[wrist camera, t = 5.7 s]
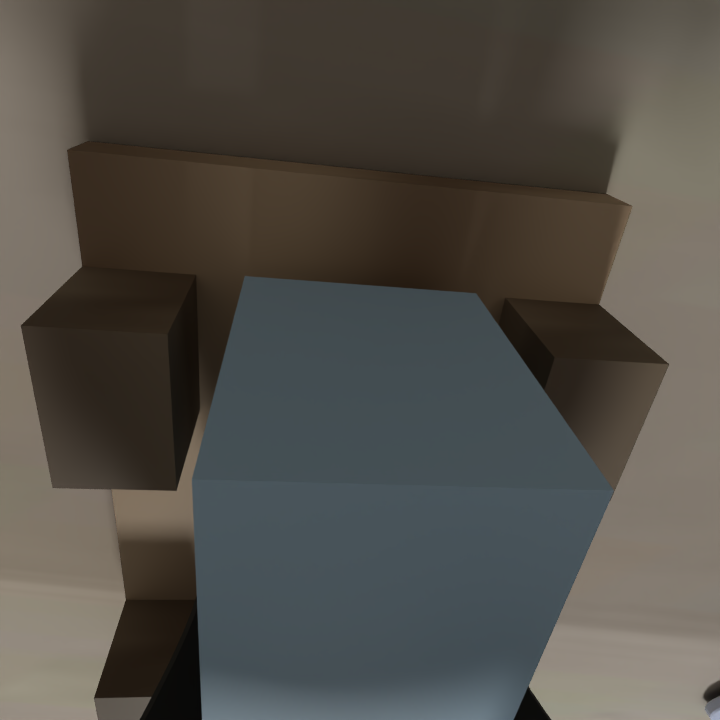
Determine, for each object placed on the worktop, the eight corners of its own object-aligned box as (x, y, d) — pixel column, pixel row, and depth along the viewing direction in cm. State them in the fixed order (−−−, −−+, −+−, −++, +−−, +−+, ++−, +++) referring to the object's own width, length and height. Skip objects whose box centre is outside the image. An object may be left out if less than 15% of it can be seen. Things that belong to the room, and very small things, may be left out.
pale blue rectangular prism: (476, 293, 10) (614, 490, 5) (375, 730, 16) (401, 975, 12) (244, 276, 9) (192, 479, 5) (238, 735, 16) (213, 993, 12)
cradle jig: (607, 193, 11) (720, 247, 8) (455, 672, 19) (484, 792, 16) (88, 141, 10) (-8, 180, 7) (148, 678, 18) (116, 810, 14)
